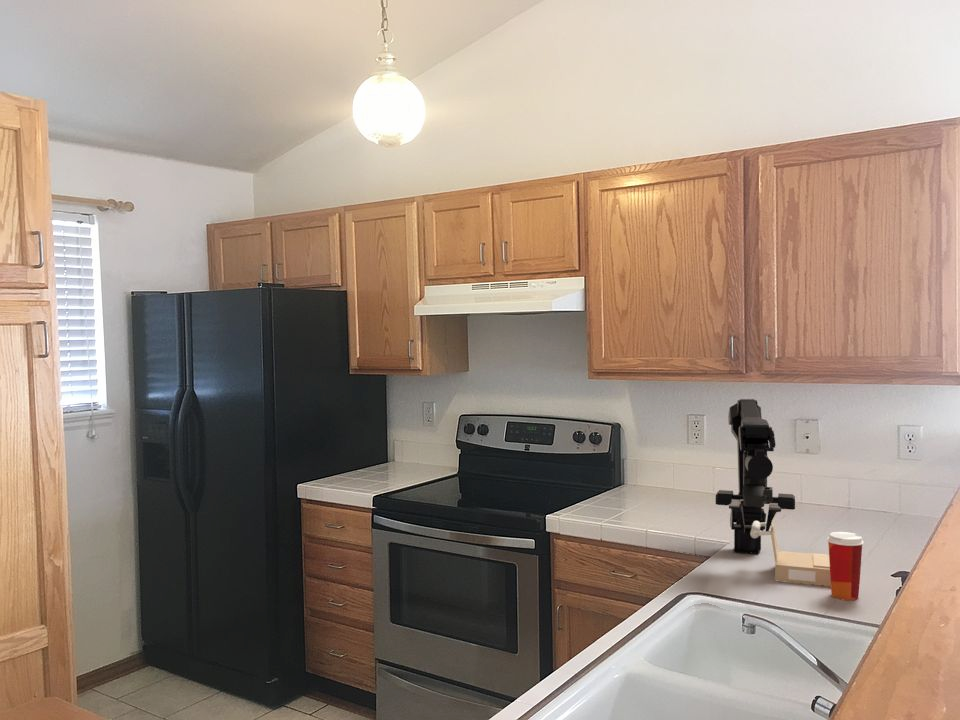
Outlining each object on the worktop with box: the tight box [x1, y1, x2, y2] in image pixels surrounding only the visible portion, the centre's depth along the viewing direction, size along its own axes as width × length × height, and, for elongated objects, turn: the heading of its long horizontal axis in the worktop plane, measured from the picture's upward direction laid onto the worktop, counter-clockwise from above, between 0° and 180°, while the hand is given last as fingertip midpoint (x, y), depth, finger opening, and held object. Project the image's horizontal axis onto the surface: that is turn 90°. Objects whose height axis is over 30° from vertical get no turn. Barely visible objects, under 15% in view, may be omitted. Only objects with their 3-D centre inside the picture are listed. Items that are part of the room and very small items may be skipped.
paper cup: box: [826, 531, 865, 601], centre depth 186 cm, size 8×8×14 cm
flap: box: [750, 521, 779, 562], centre depth 204 cm, size 8×11×5 cm
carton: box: [774, 550, 831, 587], centre depth 200 cm, size 16×13×4 cm
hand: (755, 533), depth 205 cm, fingers open, 5 cm apart
